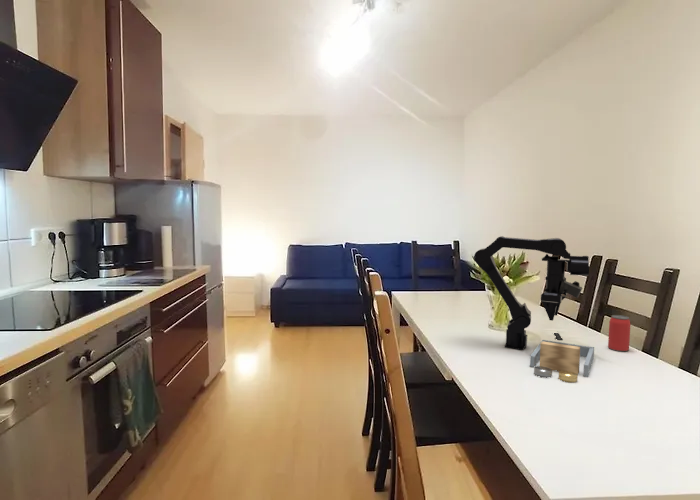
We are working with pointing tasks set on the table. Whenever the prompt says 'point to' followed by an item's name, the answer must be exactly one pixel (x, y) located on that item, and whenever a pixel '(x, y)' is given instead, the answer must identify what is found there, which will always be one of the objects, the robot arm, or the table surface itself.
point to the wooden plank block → (560, 357)
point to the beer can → (619, 333)
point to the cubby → (584, 350)
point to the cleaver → (558, 336)
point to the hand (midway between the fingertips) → (553, 317)
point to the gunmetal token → (542, 371)
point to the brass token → (568, 376)
